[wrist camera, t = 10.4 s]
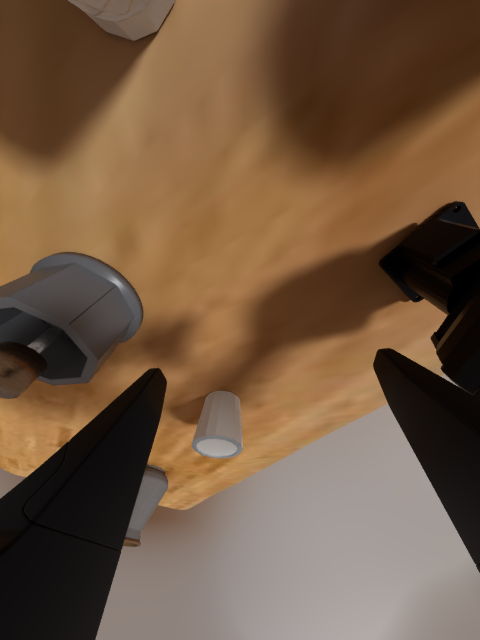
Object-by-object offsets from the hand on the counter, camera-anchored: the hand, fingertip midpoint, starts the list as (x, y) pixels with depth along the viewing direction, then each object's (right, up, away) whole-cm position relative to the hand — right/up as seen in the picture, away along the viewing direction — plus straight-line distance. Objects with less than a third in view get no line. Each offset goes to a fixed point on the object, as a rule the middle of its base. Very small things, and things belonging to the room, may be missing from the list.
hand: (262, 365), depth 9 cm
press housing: (-17, +4, +14) cm, 23 cm away
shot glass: (-4, -11, +24) cm, 27 cm away
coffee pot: (-27, -40, +46) cm, 67 cm away
